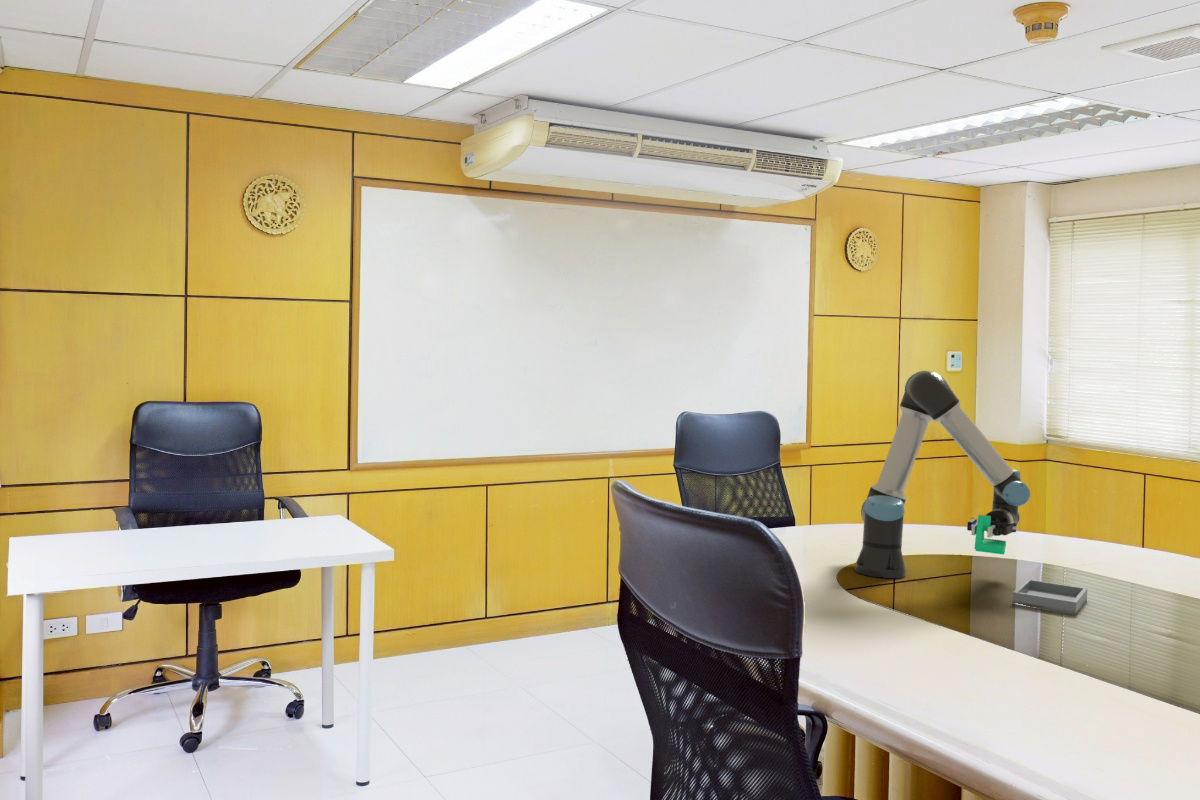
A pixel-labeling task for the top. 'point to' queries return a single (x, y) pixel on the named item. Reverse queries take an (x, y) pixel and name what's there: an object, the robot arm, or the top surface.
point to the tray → (1051, 596)
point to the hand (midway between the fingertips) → (980, 531)
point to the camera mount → (987, 544)
